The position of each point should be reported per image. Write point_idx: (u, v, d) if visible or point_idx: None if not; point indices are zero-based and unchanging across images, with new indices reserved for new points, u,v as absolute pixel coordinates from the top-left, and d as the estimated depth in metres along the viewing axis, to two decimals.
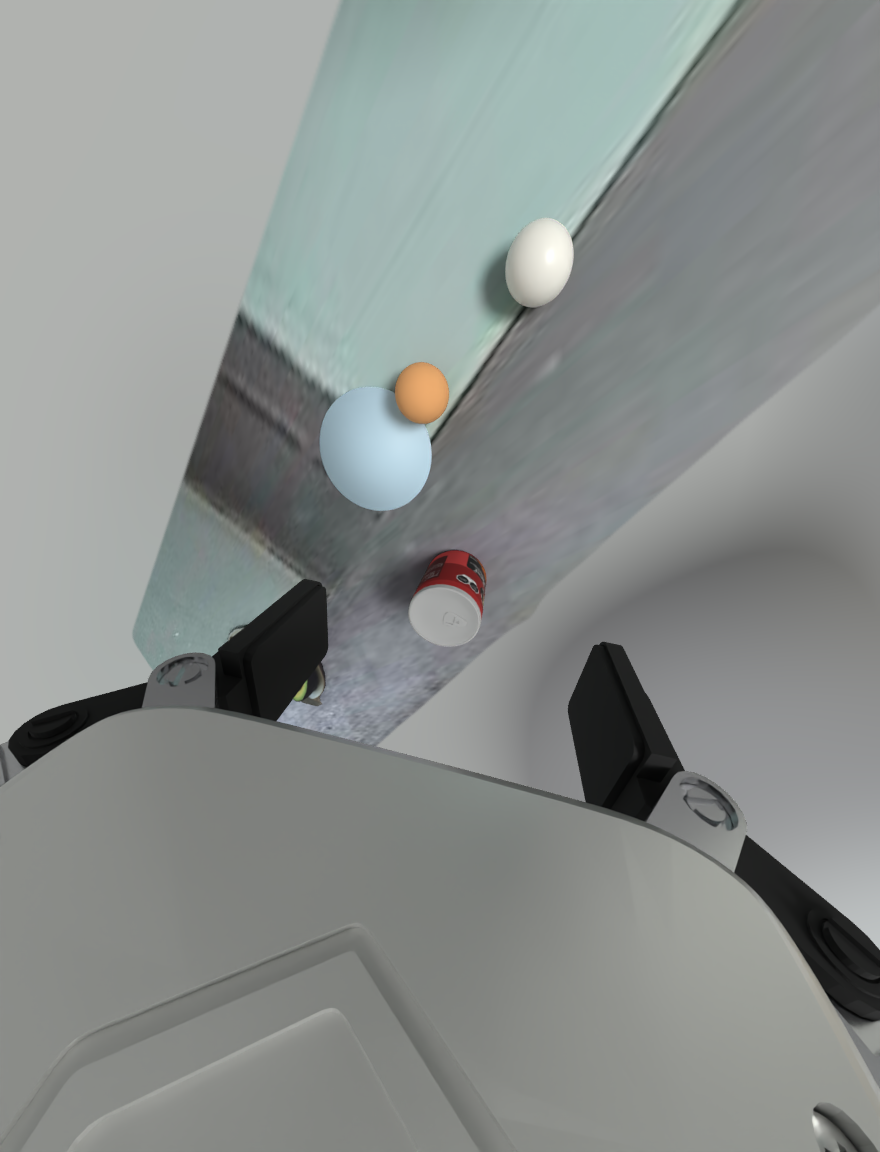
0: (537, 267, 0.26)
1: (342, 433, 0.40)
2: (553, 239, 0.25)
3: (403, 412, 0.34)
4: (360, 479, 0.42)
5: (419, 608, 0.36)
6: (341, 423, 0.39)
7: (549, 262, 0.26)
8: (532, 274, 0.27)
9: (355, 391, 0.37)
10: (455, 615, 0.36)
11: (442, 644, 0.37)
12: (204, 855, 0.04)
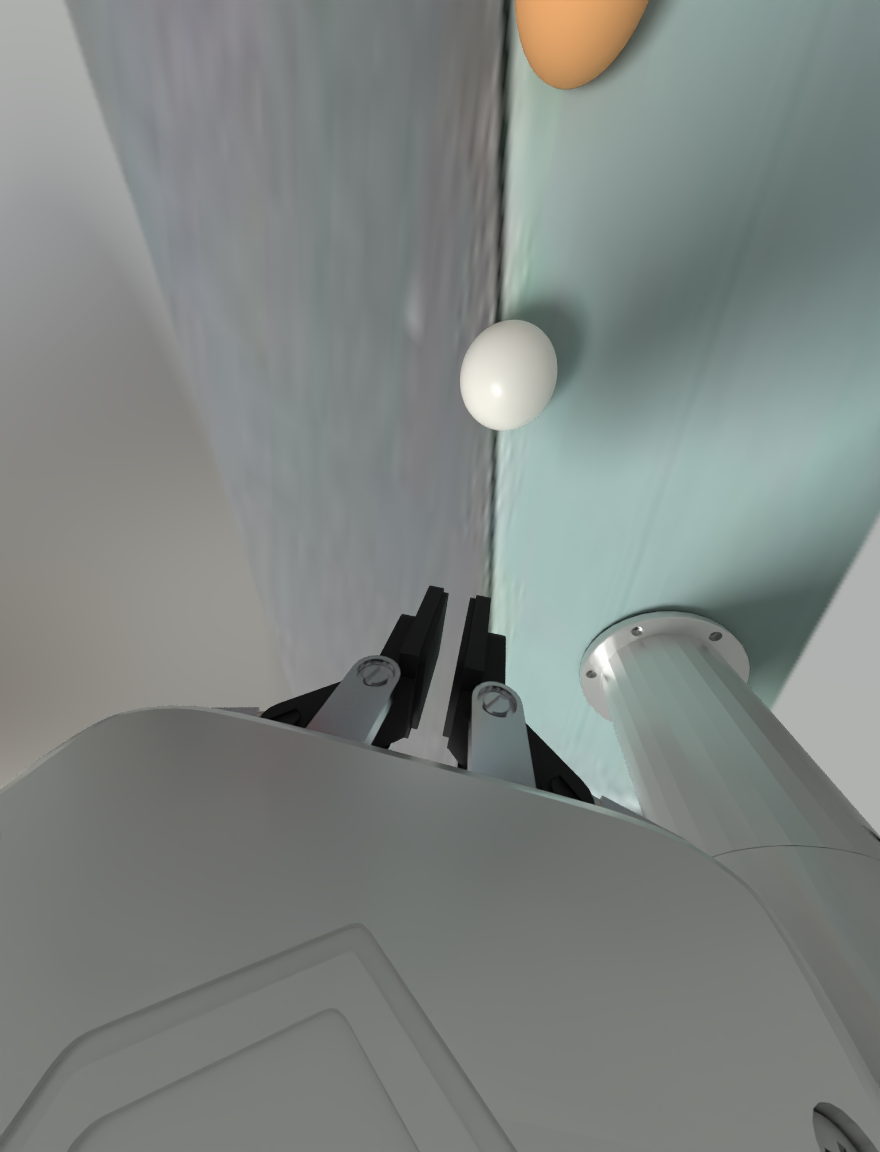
0: (500, 357, 0.17)
1: None
2: (502, 399, 0.18)
3: None
4: None
5: None
6: None
7: (488, 374, 0.17)
8: (501, 345, 0.17)
9: None
10: None
11: None
12: (204, 855, 0.04)
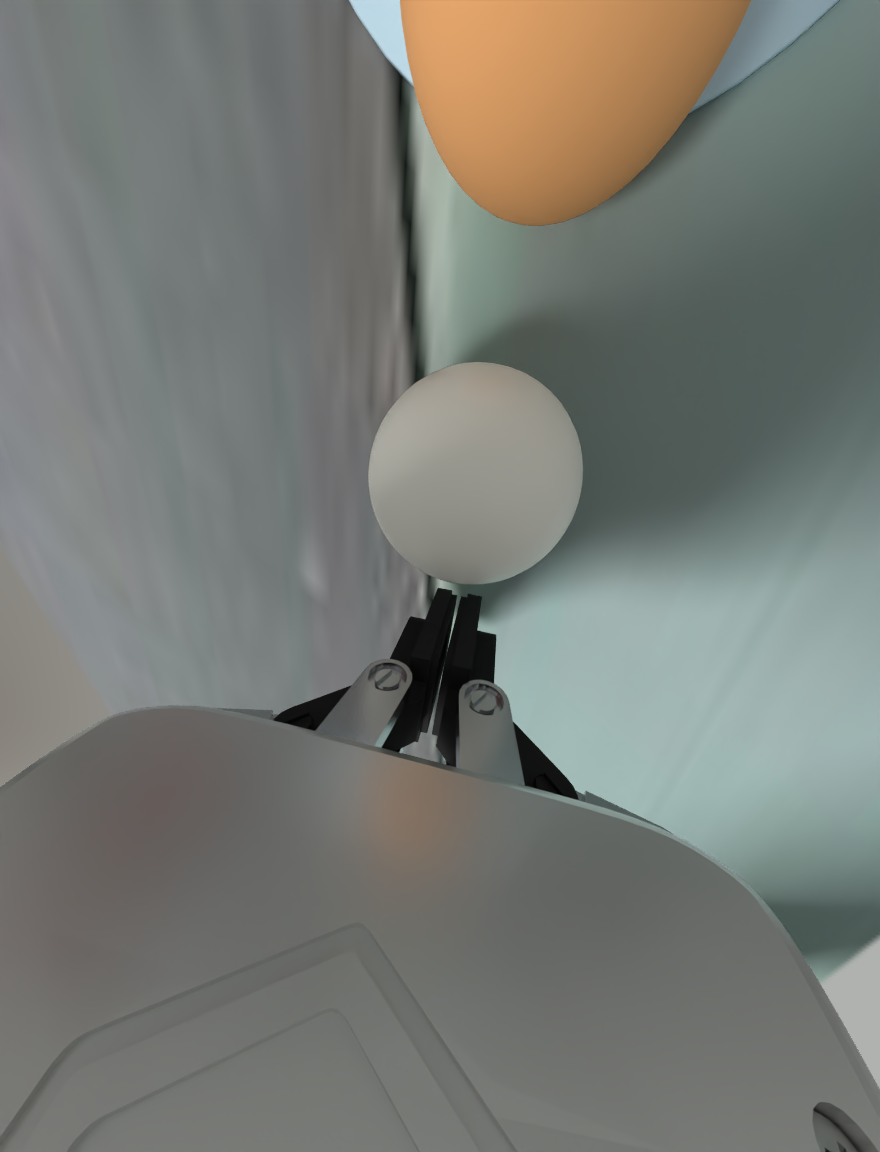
0: None
1: None
2: None
3: None
4: None
5: None
6: None
7: None
8: None
9: None
10: None
11: None
12: (204, 855, 0.04)
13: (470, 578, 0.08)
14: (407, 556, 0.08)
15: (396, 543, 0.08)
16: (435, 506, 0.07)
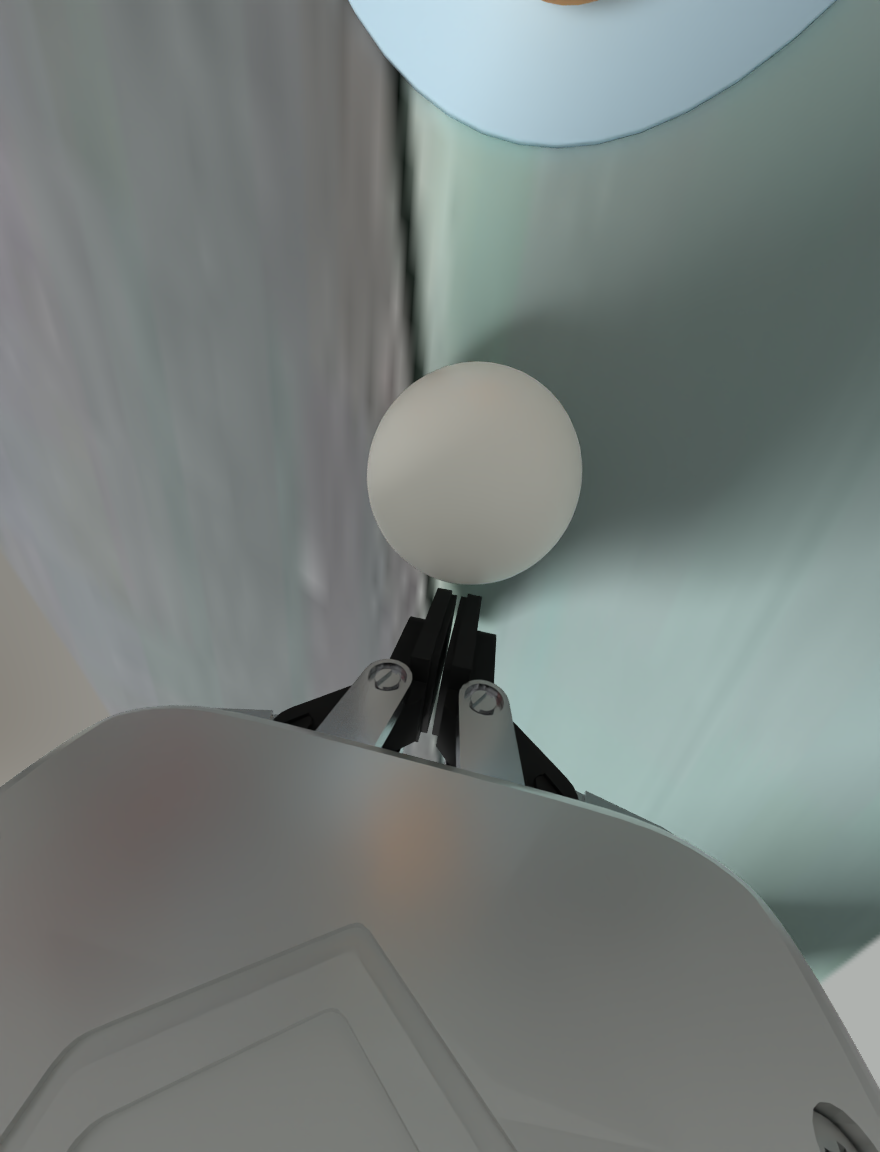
0: None
1: None
2: None
3: None
4: None
5: None
6: None
7: None
8: None
9: None
10: None
11: None
12: (204, 855, 0.04)
13: (469, 578, 0.08)
14: (406, 556, 0.08)
15: (395, 543, 0.08)
16: (433, 505, 0.07)
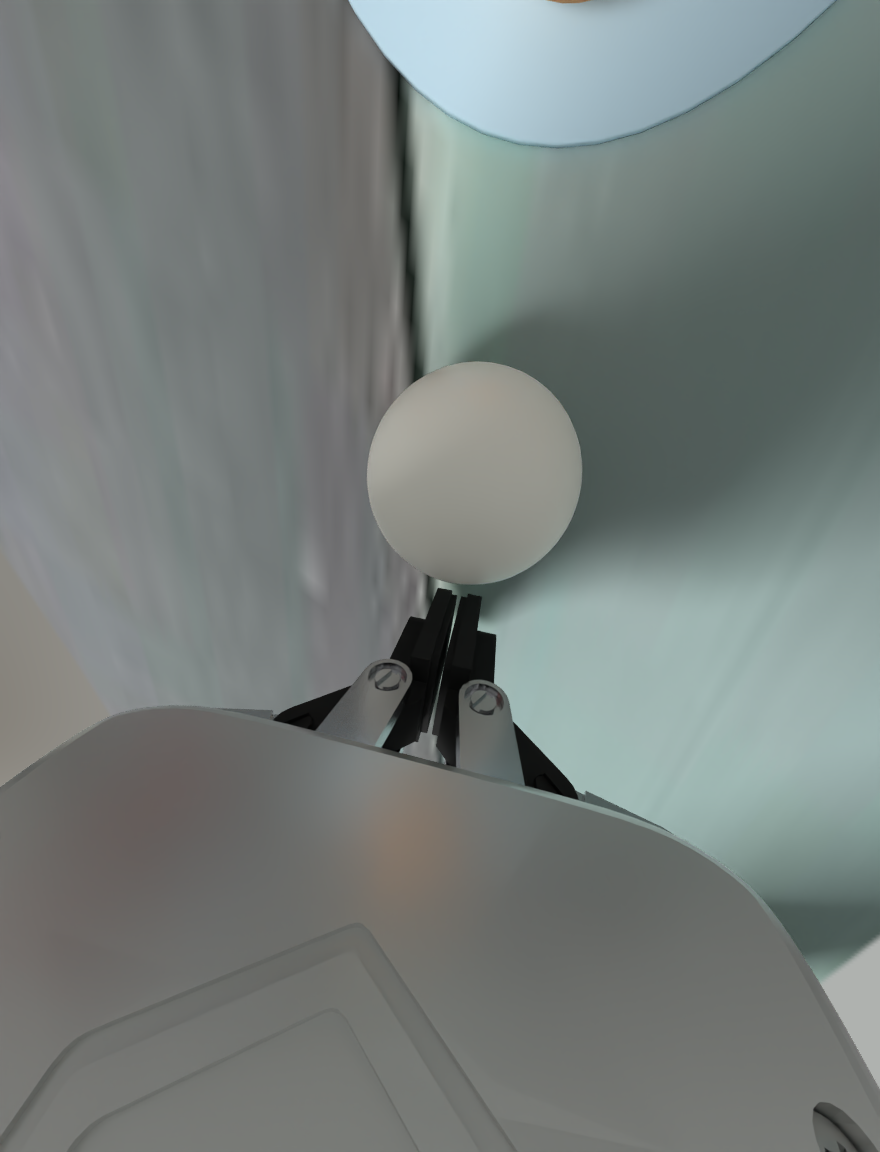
0: None
1: None
2: None
3: None
4: None
5: None
6: None
7: None
8: None
9: None
10: None
11: None
12: (204, 855, 0.04)
13: (469, 578, 0.08)
14: (406, 556, 0.08)
15: (395, 543, 0.08)
16: (433, 505, 0.07)
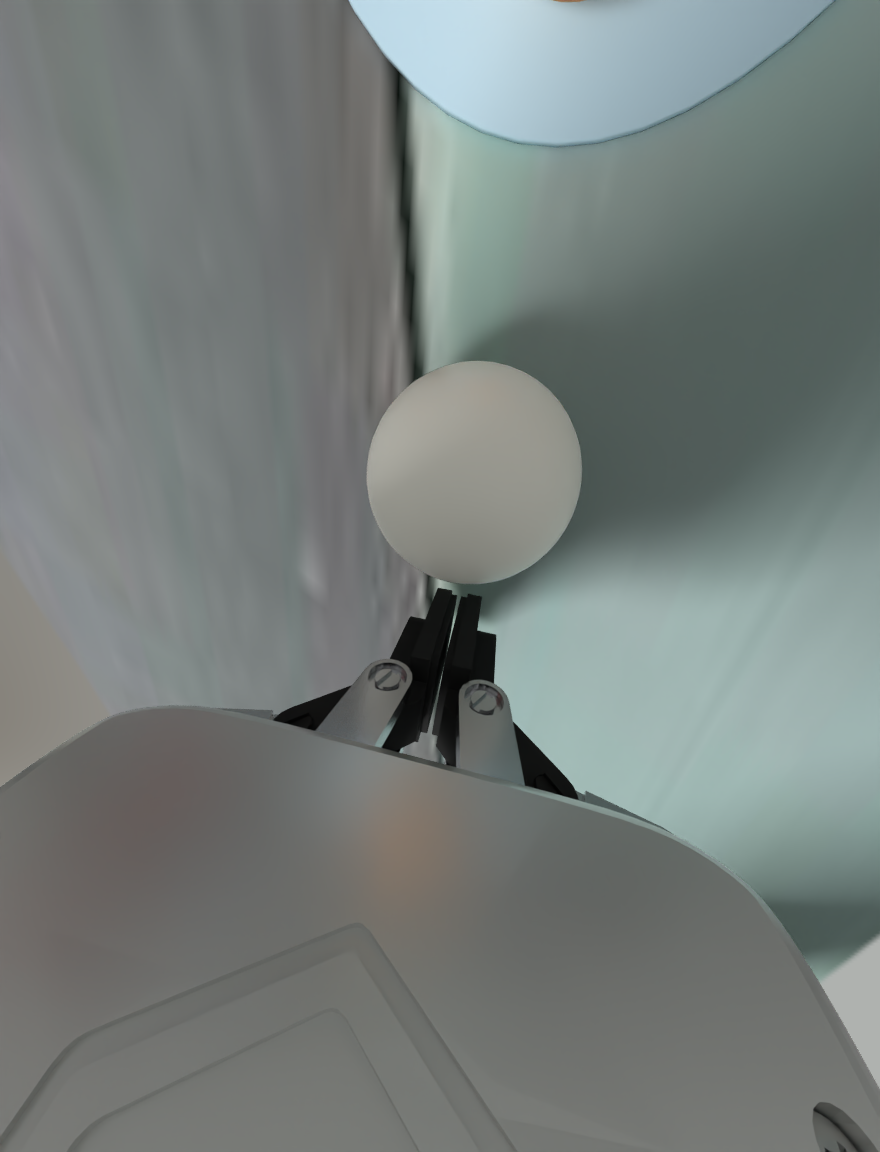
0: None
1: None
2: None
3: None
4: None
5: None
6: None
7: None
8: None
9: None
10: None
11: None
12: (204, 855, 0.04)
13: (469, 578, 0.08)
14: (405, 556, 0.08)
15: (394, 543, 0.08)
16: (433, 505, 0.07)
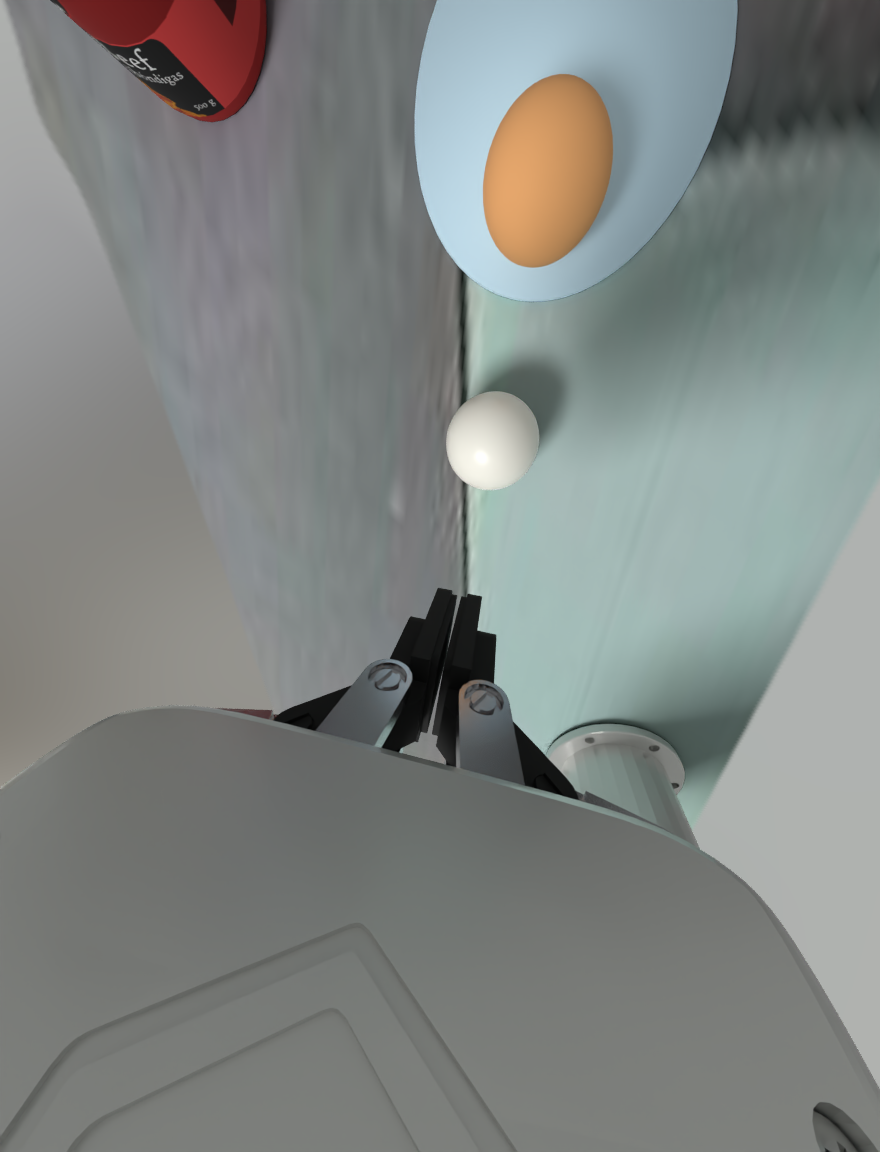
0: None
1: (664, 70, 0.15)
2: None
3: None
4: None
5: None
6: (676, 97, 0.15)
7: None
8: None
9: (660, 217, 0.16)
10: None
11: None
12: (204, 855, 0.04)
13: (491, 481, 0.19)
14: (464, 473, 0.19)
15: (460, 466, 0.19)
16: (480, 446, 0.18)
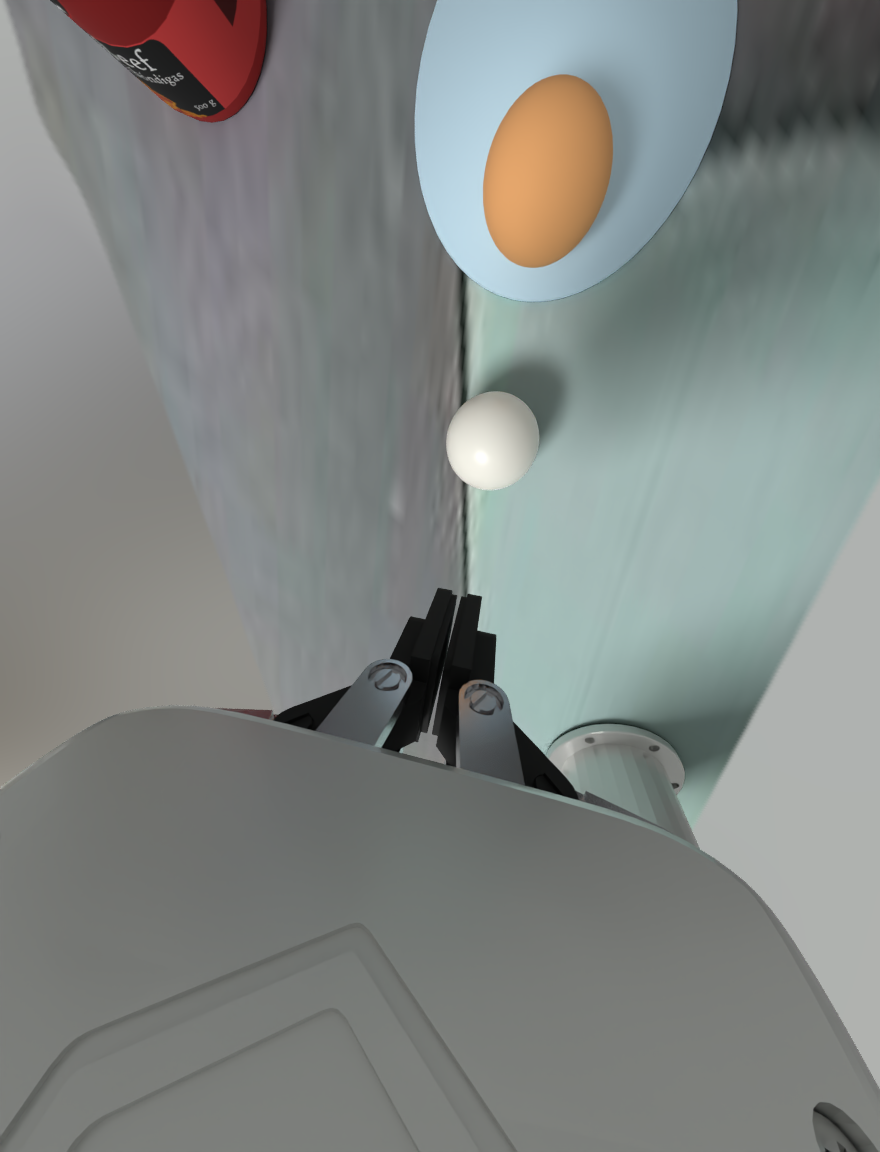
0: None
1: (664, 71, 0.15)
2: None
3: None
4: None
5: None
6: (675, 97, 0.15)
7: None
8: None
9: (660, 218, 0.16)
10: None
11: None
12: (204, 855, 0.04)
13: (492, 481, 0.19)
14: (464, 473, 0.19)
15: (460, 467, 0.19)
16: (480, 446, 0.18)
